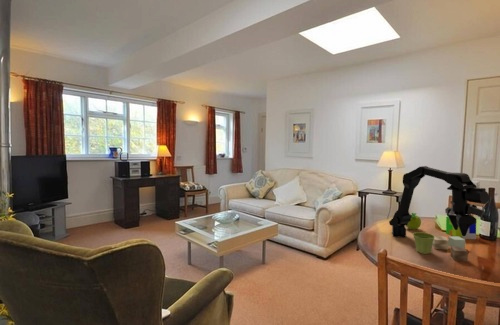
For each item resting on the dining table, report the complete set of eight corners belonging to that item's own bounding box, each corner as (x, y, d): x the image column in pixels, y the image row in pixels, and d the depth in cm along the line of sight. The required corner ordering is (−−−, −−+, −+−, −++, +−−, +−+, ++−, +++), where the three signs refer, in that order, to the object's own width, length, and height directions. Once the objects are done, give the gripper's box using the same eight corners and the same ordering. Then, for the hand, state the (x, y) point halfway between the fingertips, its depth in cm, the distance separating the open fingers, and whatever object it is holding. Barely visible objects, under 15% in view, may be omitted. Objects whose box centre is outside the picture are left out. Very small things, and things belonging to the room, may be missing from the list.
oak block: (434, 248, 135) (434, 239, 135) (431, 244, 140) (431, 235, 140) (448, 250, 133) (448, 240, 132) (444, 245, 138) (444, 236, 138)
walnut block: (454, 260, 121) (454, 250, 120) (450, 256, 125) (450, 246, 125) (467, 262, 119) (467, 251, 119) (463, 257, 124) (463, 247, 123)
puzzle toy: (476, 239, 145) (476, 221, 145) (455, 238, 147) (455, 221, 147) (465, 233, 155) (465, 217, 154) (446, 232, 157) (446, 216, 156)
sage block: (454, 249, 133) (454, 239, 133) (448, 245, 138) (448, 236, 138) (465, 249, 133) (465, 239, 132) (458, 245, 138) (458, 236, 137)
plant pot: (435, 257, 125) (435, 239, 125) (412, 253, 130) (412, 236, 130) (434, 250, 133) (434, 233, 133) (412, 247, 138) (412, 231, 138)
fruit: (422, 228, 166) (421, 213, 166) (419, 232, 160) (419, 216, 159) (405, 225, 173) (405, 211, 172) (402, 229, 166) (402, 214, 165)
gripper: (491, 205, 110) (491, 241, 110) (472, 196, 127) (472, 228, 128) (459, 204, 114) (459, 238, 114) (444, 196, 131) (445, 226, 132)
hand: (459, 232), depth 122 cm, fingers open, 9 cm apart
